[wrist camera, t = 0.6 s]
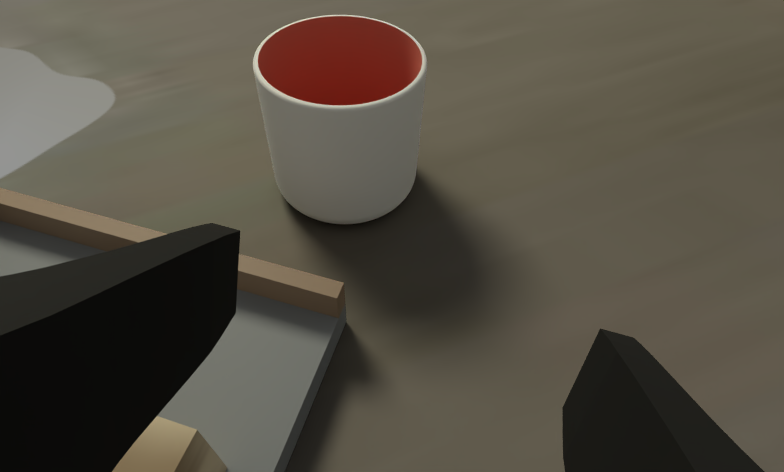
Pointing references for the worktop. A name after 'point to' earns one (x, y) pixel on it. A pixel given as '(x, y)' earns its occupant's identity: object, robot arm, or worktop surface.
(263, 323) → the trap board
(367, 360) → the worktop surface
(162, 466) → the block
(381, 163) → the cup
